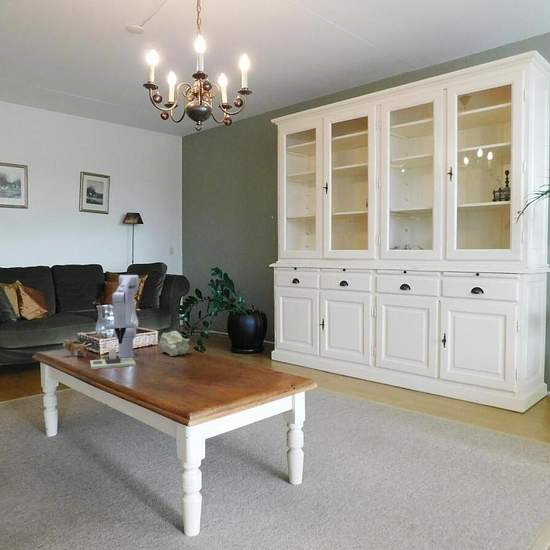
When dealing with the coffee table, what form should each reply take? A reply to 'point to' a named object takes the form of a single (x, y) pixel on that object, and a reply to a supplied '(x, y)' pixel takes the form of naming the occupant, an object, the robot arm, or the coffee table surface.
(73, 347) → the lion figurine
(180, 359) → the coffee table surface
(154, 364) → the coffee table surface
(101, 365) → the board
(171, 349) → the folded clay sculpture
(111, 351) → the plug
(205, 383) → the coffee table surface
